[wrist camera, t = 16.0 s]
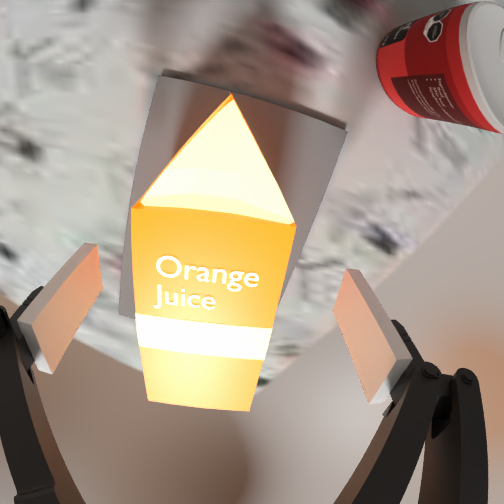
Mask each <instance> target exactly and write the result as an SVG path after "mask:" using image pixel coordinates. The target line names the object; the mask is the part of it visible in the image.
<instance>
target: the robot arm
mask: <svg viewBox="0 0 504 504" xmlns="http://www.w3.org/2000/svg"><path fill="white" fill-rule="evenodd" d="M102 289H103V286H102V279H101V272H100V265H99V257H98V248H97V244H91V243H84V244H83V245H82V246H81V247H80V248H79V249H78V250H77V252H76V253H75V254H74V255H73V256H72V257H71V258H70V259H69V260H68V261H67V262H66V263H65V264H64V265H63V266H62V268H61V269H60V270H59V271H58V272H57V273H56V274H55V275H54V276H53V278H52V279H51V280H50V281H49V282H48V283H47V284H46V286H45V287H43V286H40V287H39V288H37V289H36V290H34V291H33V292H32V293H31V294H30V295H29V296H28V297H27V300H25V301H24V302H23V303H22V305H21V306H20V307H19V308H18V309H17V311H16V312H15V313H14V314H13V315H12V317H11V318H10V319H9V317H8V315H7V312H6V309H5V308H4V307H3V306H0V437H1V441H2V445H3V448H4V453H5V456H6V459H7V463H8V466H9V469H10V472H11V475H12V478H13V481H14V484H15V487H16V490H17V495H16V496H15V497H14V503H15V504H86V503H85V502H84V500H83V498H82V496H81V494H80V493H79V491H78V489H77V487H76V485H75V483H74V481H73V479H72V477H71V475H70V473H69V471H68V469H67V466H66V464H65V462H64V460H63V458H62V455H61V453H60V451H59V448H58V446H57V443H56V441H55V438H54V436H53V433H52V431H51V428H50V425H49V422H48V420H47V417H46V414H45V411H44V408H43V405H42V402H41V398H40V395H39V391H38V388H37V385H36V381H35V377H34V373H33V371H32V369H31V365H32V364H33V362H34V361H35V363H36V365H37V367H38V369H39V370H40V371H43V372H46V373H49V374H53V373H54V371H55V369H56V367H57V365H58V363H59V361H60V360H61V358H62V356H63V354H64V352H65V350H66V349H67V347H68V345H69V343H70V341H71V340H72V338H73V336H74V334H75V333H76V331H77V329H78V328H79V326H80V324H81V323H82V321H83V319H84V318H85V316H86V314H87V313H88V311H89V309H90V308H91V306H92V305H93V303H94V301H95V300H96V298H97V297H98V295H99V293H100V292H101V290H102ZM333 312H334V314H335V317H336V319H337V322H338V324H339V327H340V329H341V332H342V334H343V337H344V339H345V342H346V345H347V347H348V350H349V352H350V355H351V357H352V360H353V362H354V365H355V368H356V371H357V373H358V376H359V379H360V381H361V384H362V387H363V390H364V393H365V395H366V398H367V401H368V404H374V403H382V402H384V401H385V400H386V398H387V397H388V396H389V394H390V395H391V397H392V400H393V401H392V402H391V403H390V405H389V406H388V407H387V409H386V410H385V411H384V413H383V414H382V415H383V416H384V418H383V420H382V422H381V424H380V426H379V428H378V430H377V432H376V434H375V436H374V437H373V439H372V441H371V443H370V445H369V447H368V449H367V451H366V452H365V454H364V456H363V458H362V459H361V461H360V463H359V465H358V466H357V468H356V470H355V471H354V473H353V475H352V476H351V478H350V479H349V481H348V483H347V484H346V486H345V487H344V489H343V490H342V492H341V493H340V495H339V496H338V498H337V499H336V501H335V502H334V504H400V501H401V499H402V497H403V495H404V493H405V491H406V489H407V486H408V484H409V482H410V479H411V477H412V474H413V472H414V469H415V467H416V464H417V461H418V459H419V456H420V454H421V451H422V448H423V445H424V442H425V452H424V462H423V472H422V480H421V487H420V494H419V500H418V504H488V455H487V440H486V429H485V421H484V412H483V406H482V399H481V393H480V387H479V382H478V379H477V377H476V375H475V374H474V373H473V372H472V371H471V370H469V369H466V368H460V369H458V370H457V372H456V373H455V374H454V376H451V375H445V374H441V372H440V370H439V369H438V368H437V366H435V365H434V364H432V363H430V362H424V360H423V359H422V357H421V355H420V354H419V352H418V350H417V348H416V347H415V345H414V344H413V342H411V338H410V337H409V336H408V334H407V332H406V330H405V329H404V327H403V326H402V325H401V324H400V323H399V322H398V321H396V320H390V318H389V317H388V315H387V313H386V312H385V310H384V308H383V307H382V305H381V304H380V302H379V300H378V299H377V297H376V296H375V294H374V292H373V291H372V289H371V288H370V286H369V284H368V283H367V281H366V280H365V278H364V277H363V275H362V274H361V272H360V271H359V270H354V269H346V272H345V275H344V278H343V281H342V284H341V287H340V291H339V294H338V297H337V300H336V303H335V306H334V309H333Z"/></svg>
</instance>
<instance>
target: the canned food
mask: <svg viewBox="0 0 504 504" xmlns="http://www.w3.org/2000/svg"><path fill="white" fill-rule="evenodd" d="M376 64H377V72H378V77H379V80H380V82H381V85H382V87H383V89H384V91H385V92H386V94H387V95H388V96H389V98H390V99H391V100H392V101H393V102H394V103H395V104H396V105H397V106H398V107H400V108H401V109H402V110H404V111H405V112H407V113H408V114H411V115H413V116H416V117H421V118H428V119H434V120H440V121H446V122H451V123H456V124H461V125H466V126H471V127H475V128H480V129H484V130H488V131H492V132H496V133H501V134H504V8H503V7H502V6H500V5H499V4H496V3H493V2H489V1H483V2H474V3H470V4H464V5H461V6H457V7H454V8H450V9H447V10H444V11H441V12H438V13H435V14H432V15H429V16H426V17H423V18H420V19H418V20H415V21H412V22H409V23H407V24H404V25H402V26H399V27H397V28H395V29H393V30H391V31H390V32H389V33H388V34H387V35H386V36H385V37H384V39H383V40H382V42H381V44H380V46H379V48H378V51H377V58H376Z"/></svg>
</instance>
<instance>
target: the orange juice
mask: <svg viewBox="0 0 504 504" xmlns="http://www.w3.org/2000/svg"><path fill="white" fill-rule="evenodd" d="M230 94H231V93H230ZM245 123H246V121H245V120H244V118H243V116H242V114H241V112H240V110H239V108H238V106H237V104H236V102H235V101H234V99H233V97H232V94H231V95H230V96H229V97H228V98H227V99H226V100H225V101H224V102H223V103H222V104H221V105H220V106H219V107H218V108H217V109H216V110H215V111H214V112H213V113H212V115H211V116H210V117H209V118H208V119H207V120H206V121H205V122H204V123H203V124H202V125H201V126H200V128H199V129H198V130H197V131H196V132H195V133H194V134H193V135H192V137H191V138H190V139H189V140H188V141H187V142H186V143H185V145H184V146H183V147H182V148H181V149H180V150H179V152H178V153H177V154H176V155H175V156H174V158H173V159H172V160H171V161H170V162H169V164H168V165H167V166H166V167H165V169H164V170H163V171H162V172H161V174H160V175H159V176H158V177H157V179H156V180H155V181H154V182H153V184H152V185H151V186H150V188H149V189H148V190H147V191H146V193H145V194H144V195H143V197H142V198H141V199H140V200H139V201H138V202H137V203H136V204H135V205H134V206H133V207H132V208H131V236H132V265H133V282H134V296H135V308H136V313H135V316H136V326H137V334H138V342H139V346H140V352H141V359H142V366H143V372H144V378H145V384H146V390H147V396H148V400H150V401H156V402H163V403H169V404H177V405H184V406H192V407H201V408H211V409H223V410H239V411H249V409H250V405H251V402H252V398H253V395H254V392H255V388H256V385H257V381H258V377H259V374H260V370H261V366H262V363H263V360H264V358H265V355H266V351H267V347H268V344H269V340H270V336H271V332H272V325H273V321H274V317H275V313H276V309H277V305H278V301H279V297H280V293H281V289H282V285H283V281H284V277H285V273H286V269H287V264H288V260H289V256H290V252H291V247H292V243H293V239H294V234H295V230H296V227H297V226H295V225H296V224H294V220H293V218H292V215H291V213H290V211H289V209H288V206H287V204H286V202H285V200H284V197H283V195H282V193H281V191H280V189H279V187H278V184H277V182H276V180H275V178H274V177H273V175H272V173H271V171H270V169H269V167H268V165H267V163H266V161H265V159H264V157H263V155H262V153H261V151H260V149H259V147H258V145H257V143H256V141H255V139H254V137H253V135H252V133H251V131H250V129H249V127H248V125H247V123H246V124H245Z"/></svg>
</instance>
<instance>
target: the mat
mask: <svg viewBox="0 0 504 504" xmlns="http://www.w3.org/2000/svg"><path fill="white" fill-rule="evenodd" d="M230 93H231V94H232V97H233V99H234V101H235V102H236V104H237V106H238V108H239V110H240V112H241V114H242V116H243V118H244V120H245V121H246V123H247V125H248V127H249V129H250V131H251V133H252V135H253V137H254V139H255V141H256V143H257V145H258V147H259V149H260V151H261V153H262V155H263V157H264V159H265V161H266V163H267V165H268V167H269V169H270V171H271V173H272V175H273V177H274V178H275V180H276V182H277V184H278V187H279V189H280V191H281V193H282V195H283V197H284V200H285V202H286V204H287V206H288V209H289V211H290V213H291V215H292V218H293V220H294V224H296V225H295V226H297V227H296V230H295V234H294V239H293V243H292V247H291V252H290V256H289V260H288V264H287V269H286V273H285V277H284V281H283V285H282V289H281V293H280V297H279V301H278V304H279V302H280V300H281V297H282V295H283V293H284V291H285V288H286V286H287V284H288V281H289V279H290V277H291V274H292V272H293V270H294V267H295V265H296V263H297V260H298V258H299V255H300V253H301V251H302V248H303V246H304V243H305V241H306V239H307V236H308V234H309V231H310V229H311V226H312V224H313V221H314V219H315V216H316V214H317V211H318V209H319V206H320V204H321V201H322V199H323V196H324V193H325V191H326V188H327V186H328V183H329V180H330V178H331V175H332V173H333V170H334V167H335V165H336V162H337V159H338V157H339V154H340V151H341V148H342V146H343V143H344V140H345V137H346V135H347V131H345V130H343V129H340V128H338V127H336V126H333V125H331V124H328V123H326V122H323V121H321V120H318V119H315V118H313V117H310V116H307V115H305V114H302V113H299V112H296V111H294V110H291V109H288V108H285V107H282V106H279V105H276V104H273V103H270V102H266V101H263V100H260V99H257V98H253V97H250V96H246V95H243V94H239V93H236V92H232V91H228V90H224V89H220V88H216V87H212V86H208V85H204V84H199V83H195V82H190V81H185V80H181V79H175V78H170V77H165V76H159V79H158V82H157V85H156V89H155V92H154V96H153V99H152V103H151V106H150V110H149V114H148V118H147V122H146V126H145V130H144V134H143V138H142V143H141V147H140V152H139V156H138V161H137V166H136V171H135V176H134V182H133V187H132V193H131V199H130V205H129V212H128V219H127V226H126V233H125V242H124V250H123V260H122V270H121V283H120V297H119V315H123V316H126V317H130V318H133V319H136V316H135V313H136V308H135V296H134V282H133V265H132V236H131V208H132V207H133V206H134V205H135V204H136V203H137V202H138V201H139V200H140V199H141V198H142V197H143V195H144V194H145V193H146V191H147V190H148V189H149V188H150V186H151V185H152V184H153V182H154V181H155V180H156V179H157V177H158V176H159V175H160V174H161V172H162V171H163V170H164V169H165V167H166V166H167V165H168V164H169V162H170V161H171V160H172V159H173V158H174V156H175V155H176V154H177V153H178V152H179V150H180V149H181V148H182V147H183V146H184V145H185V143H186V142H187V141H188V140H189V139H190V138H191V137H192V135H193V134H194V133H195V132H196V131H197V130H198V129H199V128H200V126H201V125H202V124H203V123H204V122H205V121H206V120H207V119H208V118H209V117H210V116H211V115H212V113H213V112H214V111H215V110H216V109H217V108H218V107H219V106H220V105H221V104H222V103H223V102H224V101H225V100H226V99H227V98H228V97H229V96H230V95H231V94H230ZM246 123H245V124H246ZM277 307H278V305H277Z"/></svg>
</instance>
